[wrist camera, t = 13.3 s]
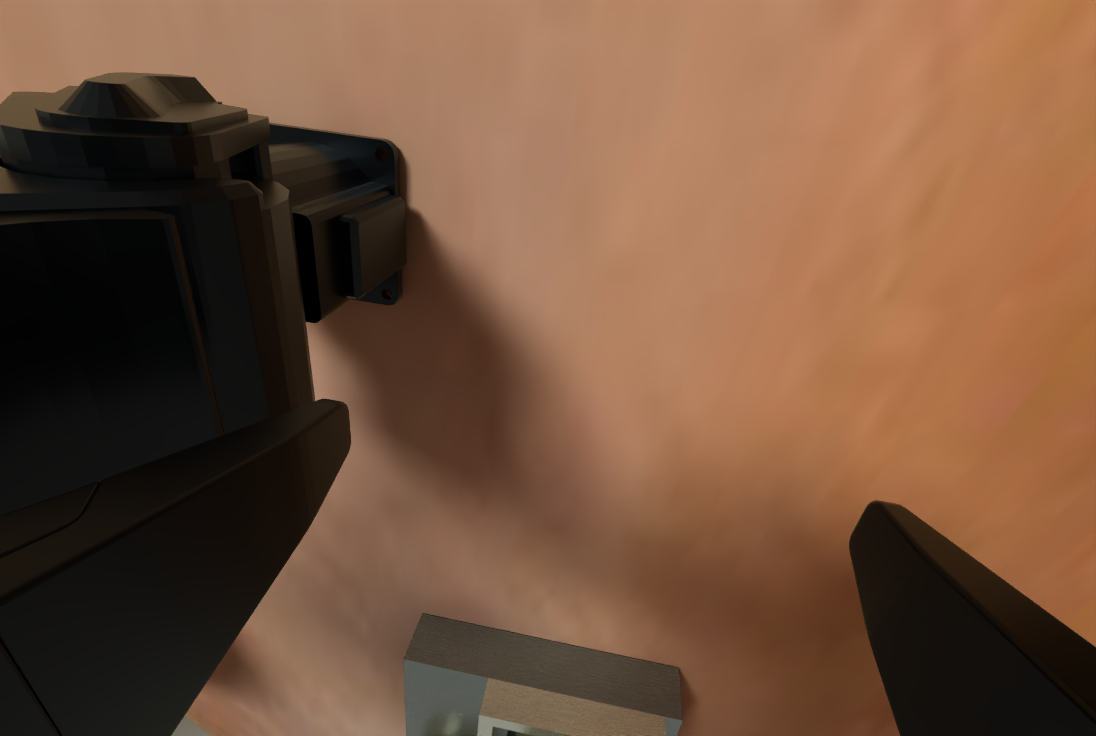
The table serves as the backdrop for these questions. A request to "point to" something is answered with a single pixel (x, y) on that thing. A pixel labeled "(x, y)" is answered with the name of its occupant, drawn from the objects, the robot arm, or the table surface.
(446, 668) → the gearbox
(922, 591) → the robot arm
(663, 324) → the table surface
